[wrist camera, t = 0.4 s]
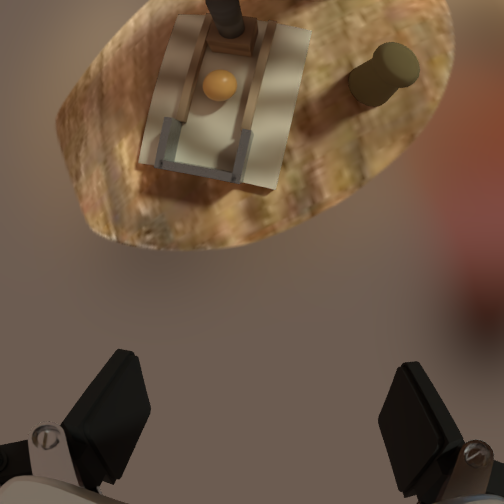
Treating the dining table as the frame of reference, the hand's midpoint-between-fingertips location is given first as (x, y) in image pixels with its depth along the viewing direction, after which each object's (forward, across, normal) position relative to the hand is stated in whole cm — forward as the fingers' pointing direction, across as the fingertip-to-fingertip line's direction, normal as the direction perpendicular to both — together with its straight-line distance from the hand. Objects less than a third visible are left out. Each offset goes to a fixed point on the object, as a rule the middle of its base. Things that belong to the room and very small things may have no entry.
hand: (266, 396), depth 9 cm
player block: (+28, +5, -24) cm, 37 cm away
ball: (+26, +6, -17) cm, 32 cm away
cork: (+30, -12, -20) cm, 38 cm away
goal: (+28, +8, -9) cm, 31 cm away
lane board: (+30, +6, -17) cm, 35 cm away
